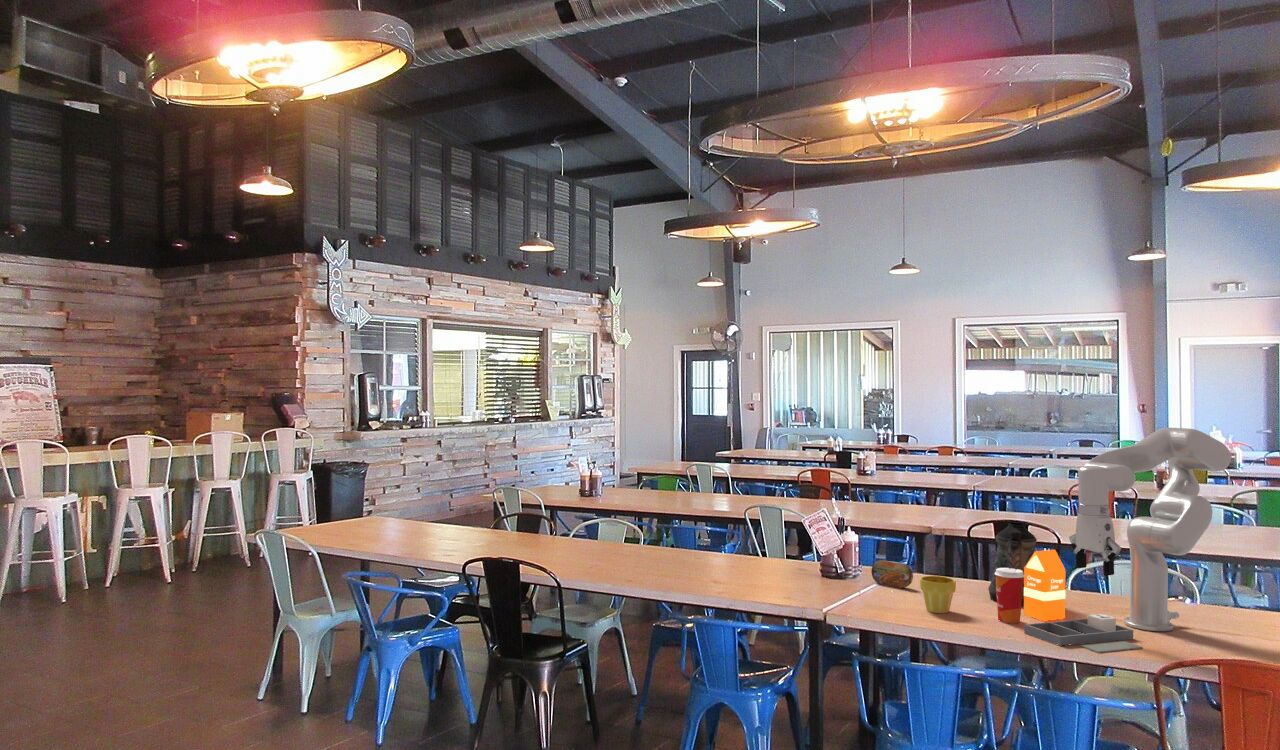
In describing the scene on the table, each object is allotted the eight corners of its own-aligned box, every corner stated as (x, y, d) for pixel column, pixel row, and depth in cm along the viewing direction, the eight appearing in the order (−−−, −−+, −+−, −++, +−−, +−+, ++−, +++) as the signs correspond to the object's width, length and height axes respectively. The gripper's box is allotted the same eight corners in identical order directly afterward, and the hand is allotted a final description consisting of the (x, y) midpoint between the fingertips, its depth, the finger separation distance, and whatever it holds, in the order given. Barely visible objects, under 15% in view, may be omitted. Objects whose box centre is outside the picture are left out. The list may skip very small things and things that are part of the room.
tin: (870, 582, 318) (871, 558, 318) (875, 581, 320) (876, 557, 320) (909, 590, 307) (909, 565, 307) (914, 589, 309) (914, 564, 309)
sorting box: (1094, 626, 263) (1095, 618, 263) (1133, 639, 251) (1133, 630, 251) (1024, 633, 255) (1024, 624, 255) (1060, 646, 243) (1060, 637, 243)
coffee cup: (999, 615, 274) (999, 566, 274) (1027, 620, 269) (1028, 570, 269) (989, 621, 268) (990, 570, 268) (1018, 626, 262) (1019, 574, 262)
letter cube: (1101, 631, 259) (1101, 613, 259) (1115, 636, 254) (1115, 617, 254) (1087, 632, 257) (1087, 614, 257) (1101, 637, 252) (1101, 619, 252)
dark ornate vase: (1029, 594, 303) (1030, 519, 303) (1057, 609, 283) (1058, 529, 283) (980, 594, 302) (981, 519, 302) (1005, 609, 283) (1006, 528, 283)
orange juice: (1023, 615, 275) (1024, 549, 276) (1044, 612, 279) (1044, 547, 279) (1044, 621, 268) (1045, 553, 268) (1065, 618, 272) (1066, 551, 272)
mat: (1123, 642, 248) (1123, 640, 248) (1142, 648, 242) (1142, 646, 242) (1080, 646, 243) (1080, 645, 243) (1098, 653, 237) (1098, 651, 237)
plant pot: (925, 614, 274) (926, 582, 274) (915, 606, 284) (915, 575, 284) (960, 615, 274) (960, 583, 274) (948, 607, 284) (949, 575, 284)
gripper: (1129, 514, 248) (1130, 576, 248) (1080, 505, 264) (1081, 564, 264) (1108, 516, 245) (1109, 579, 246) (1059, 507, 262) (1060, 566, 262)
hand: (1094, 571), depth 255 cm, fingers open, 9 cm apart
